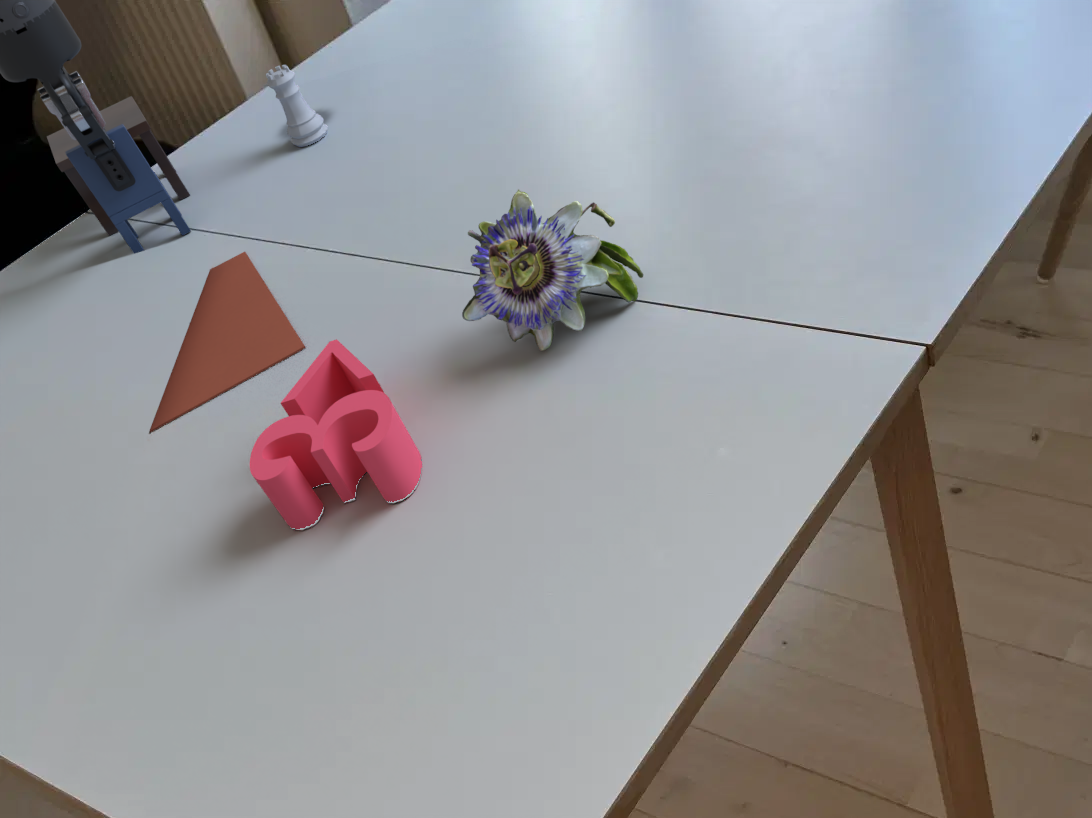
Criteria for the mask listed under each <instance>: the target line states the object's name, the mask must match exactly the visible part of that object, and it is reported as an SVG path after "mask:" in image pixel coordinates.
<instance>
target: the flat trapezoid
mask: <svg viewBox="0 0 1092 818" xmlns="http://www.w3.org/2000/svg"><path fill="white" fill-rule="evenodd" d="M208 271H209V272H208V274H207V277H206V279H205V282H204V283H203V287H202V290H201V292H200V295H199V298H198V301H197V303H196V306H195V308H194V311H193V314H192V317H191V319H190V322H189V325H188V327H187V330H186V332H185V335H184V338H183V340H182V342H181V346H180V348H179V351H178V354H177V356H176V358H175V361H174V364H173V367H172V368H171V369H172V370H171V372H170V375H169V377H168V381H167V383H166V386H165V388H164V391H163V393H162V396H161V399H160V402H159V404H158V407H157V410H156V412H155V415H154V417H153V420H152V422H151V426H150V428H149V430H148V431H149V433H153V432H155V431H156V430H158V429H160V428H162V427H164V426H165V425H168V424H169V423H171V422H173V421H174V420H176V419H179V418H180V417H182V416H184V415H186V414H188V413H189V412H191V411H193V410H194V409H196V408H199V407H200V406H202V405H204V404H206V403H208V402H210V401H211V400H213V399H216V398H217V397H218V396H220V395H222V394H225V393H226V392H228V391H230V390H231V389H234V388H235V387H237V386H239V385H241V384H243V383H244V382H246V381H248V380H249V379H251V378H254V377H255V376H257V375H259V374H261V373H263V372H265V371H266V370H268V369H270V368H272V367H273V366H276V365H277V364H279V363H280V362H283V361H284V360H286V359H288V358H290V357H293V356H294V355H295V354H297V353H299V352H301V351H303V350H305V349H306V348H307V347H306V345H305V344H304V342H303V340H302V339H301V338H300V335H298V332H297V331H296V330H295V328H294V327H293V324H292V323H291V322H290V320H289V318H288V317H287V315H286V314H285V312H284V311H283V309H282V308H281V306H280V304H279V303H278V301H277V299H276V298H275V296H274V295H273V292H271V290H270V289H269V287H268V285H267V284H266V282H265V281H264V279H263V278H262V276H261V275H260V273H259V271H258V269H257V268H256V267H255V265H254V263H253V262H252V260H251V259H250V257H249V256H248V253H247V252H246V251H243V252H241V253H238V254H236V255H235V256H232V257H231V258H229V259H228V260H225V261H223V262H222V263H219V264H218V265H215V266H214V267H212V268H210V269H209V270H208Z"/></svg>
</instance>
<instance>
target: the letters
mask: <svg viewBox="0 0 1092 818" xmlns="http://www.w3.org/2000/svg"><path fill="white" fill-rule="evenodd" d="M280 405H281V407H282V408H283V410H284V411H285V413H286V414H287V416H286V417H283V418H281V419H278V420H276V421H274V422H273V423H272V424H270V425H269V426H267V427H266V428H265V429H264V430H263V431H262V432H261V433H260V434H259V436H258V437H257V438H256V441H255V443H254V445H253V446H252V448H251V449H252V450H251V453H250V457H249V471H250V474H251V475H252V477H253V478H254V480H255V481H256V483H257V484H258V486H259V487H260V488H261V489H262V491H263V492H264V494H265V495H266V496H267V498H268V499H269V501H270V502H271V504H272V506H274V507H275V509H276V510H277V512H278V513H279V514H280V516H281V518H282V519H283V520H284V521H285V523H286V524H287V526H288V525H289V526H290V527H291V528H295V529H300V528H305V527H306V526H310V525H311V524H314V523H315V521H316V520H318V517H319V516H320V514H321V512H322V509H323V505H324V504H323V502H322V501H321V499H320V498H319V496H318V494H317V493H316V491H315V490H314V489H312V488H313V487H316V486H318V485H321V484H324V483H331V484H330V485H331V486H332V487H333V489H334V491H335V492H336V493H337V495H338V496H339V498H340V500H341V501H342V503H343V502H345V501H348V500H350V499H353V498H355V492H356V485H357V484H358V481H359V479H360V478H362V476H363V475H364V474H365V473H366V472H367V473H366V474H368V475H369V477H370V478H371V480H372V482H373V483H374V485H375V487H376V489H377V490H378V492H379V493H380V495H381V496H382V498H383V499H385V500H386V501H388V502H389V501H390V502H391V501H392V502H394V501H397V500H400V499H403V498H405V497H406V496H407V495H408V494H410V493H411V492H412V490H414V488H415V486H416V485H417V483H418V481H419V478H420V474H421V468H422V469H423V460H422V461H421V459H422V455H421V452H420V450H419V449H418V447H417V445H416V444H415V442H414V439H413V438H412V436H411V434H410V433H409V431H408V429H407V427H406V425H405V424H404V422H403V420H402V418H401V417H400V415H399V413H398V412H397V409H396V407H395V406H394V404H393V402H392V401H391V399H390V397H389V396H388V395H387V394H386V392H385V391H384V389H383V388H382V386H381V384H380V383H379V381H378V378H377V377H376V375H375V374H374V372H372V371H371V370H370V369H369V368H368V367H367V366H366V365H365V364H364V363H363V362H362V361H361V360H360V359H358V358H357V357H356V356H355V355H354V354H353V353H352V352H351V351H350V350H349V349H348V348H347V347H346V346H345V345H343V343H342V342H340V340H338V339H337V338H336V339H334V340H330V341H329V342H327V344H326V346H325V347H324V348H323V349H322V350H321V351H320V353H319V354H318V356H317V357H316V358H315V359H314V360H313V361H312V363H311V364H310V365H309V367H308V368H307V369H306V370H305V372H304V373H303V374H302V375H301V376H300V378H299V379H298V380H297V382H296V383H295V384H294V385H293V387H292V388H291V389H290V390H289V391H288V393H287V394H286V395H285V397H283V399H282V400H281V402H280ZM366 474H365V475H366ZM365 475H364V476H365ZM421 475H422V474H421ZM364 476H363V477H364ZM362 479H363V478H362ZM385 500H384V501H385ZM386 501H385V502H386ZM289 526H288V527H289ZM290 527H289V528H290ZM291 528H290V529H291Z"/></svg>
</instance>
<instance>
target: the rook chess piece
mask: <svg viewBox="0 0 1092 818" xmlns="http://www.w3.org/2000/svg"><path fill="white" fill-rule="evenodd" d="M275 70H276V71H274V70H273V68H271V69H269V70H267V73H265V77H266V79H267V82H266V86H267V87H268V88H270V89H272V90H274V92H275V98H276V99H278V101H279V103H280V105H281V107H282V109H283V112H284V115H285V119H286V125H287V128H286V135H288V137H289V138H290V143H291V144H292V145H294V146H296V147H299V148H303V147H309V146H311V144H312V145H314V144H316V143H318V142H320V141H321V140H322V139H323V138H322V137H324V136H325V137H326V135H327V134H328V130H329V129H328V128H329V125H327V124H326V123H324V117H323V116H322V115H320V113H317V112H316V110H314V109H313V108H311V106H310V105H309V103H308V102H307V101H306V100H305V98H304V96H303V94H302V92H301V91H300V88H301V87H300V85H298V84H297V83H296V81H295V76H296V72H294V71H293V70H291V69H290V68H289V66H288V65H287V64H282V65H281V66H280V65H277V66H275ZM326 133H327V134H326ZM325 134H326V135H325ZM325 137H324V138H325ZM321 138H322V139H321ZM320 139H321V140H320ZM319 140H320V141H319ZM317 141H318V142H317ZM315 142H316V143H315ZM313 143H314V144H313ZM308 145H309V146H308Z"/></svg>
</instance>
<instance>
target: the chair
mask: <svg viewBox="0 0 1092 818" xmlns="http://www.w3.org/2000/svg"><path fill="white" fill-rule="evenodd" d="M106 133H107V135H108V136H109V138H110V139H112V140H113V141H114V143H115V144H116V145H114V146H115V147H116V150H117V152H118V153H119V155H120V156H121V158H122V159H123V161H124V163H125V164H126V166H127V167H128V169H129V170H130V172H131V173H132V175H133V176H134V178H135V184H134V185H132V186H130V187H128V188H126V189H124V190H122V191H116V190H114V188H113V187H112V185H111V184H110V182H109V181H108V179H107V178H106V176H105V175H104V173H103V172H102V170H101V169H100V167H99V166H98V165H97V163H96V162H95V160H91V159H90V157H87V155H86V154H85V151H84V149H83V148H82V146H81V145H78V146H76V147H74V148H72V149H70V150H68V151H66V152H65V153H66V155H67V157H68V158H69V160H70V161H71V163H72V164H73V166H74V167H75V168H76V170H77V171H78V173H79V174H80V176H81V177H82V179H83V180H84V182H85V183H86V184H87V186H88V187H89V189H90V190H91V192H92V193H93V195H94V196H95V198H96V199H97V200H98V202H99V203H100V205H101V206H102V208H103V209H104V211H105V212H106V213H107V215H108V216H109V218H110V219H111V221H112V222H113V224H114V225H115V227H116V228H117V230H118V232H119V234H120V235H121V237H122V238H123V240H124V241H125V243H126V244H127V245H128V247H129V248H130V250H131V252H132V253H133V254H138V253H142V252H145V250H146V249H144V247H143V245H142V244H141V243H140V241H139V240H138V239H139V235H138V233H137V232H136V230H135V228H134V227H133V226H132V224H131V223H130V222H129V219H131V218H133V217H135V216H137V215H139V214H141V213H143V212H145V211H147V210H149V209H151V208H152V207H155V206H156V205H158V204H161V205H162V207H163V208H164V210H165V211H166V213H167V214H168V216H169V218H170V220H172V222H173V224H174V225H175V227H176V228H177V230H178V231H179V233H180V234H181V236H185V235H188V234H189V233H191V232H192V230H191V229H190V227H189V225H188V224H187V222H186V221H185V219H184V217H183V215H182V213H181V211H180V210H179V208H178V206H177V205H176V204H175V201H174V200H173V199H172V197H171V195H170V194H169V192H168V190H167V189H166V188H165V186H164V185H163V182H162V181H161V180H160V178H159V177H158V175H157V174H156V172H155V171H154V170H153V169H152V167H151V166H150V164H149V162H148V160H147V159H146V157H145V156H144V154H143V153H142V151H141V150H140V148H139V147H138V145H137V144H136V142H135V140H134V138H132V137H131V136H130V134H129V132H128V131H127V129H126V128H125V126H124V125H123V124H121V125H119V126H117V127H115V128H113V129H111V130H109V131H107V132H106ZM100 139H102V138H99V139H97V140H95V141H93V142H91V143H89V145H90V144H92V143H94V142H96V141H98V140H100Z"/></svg>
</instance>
